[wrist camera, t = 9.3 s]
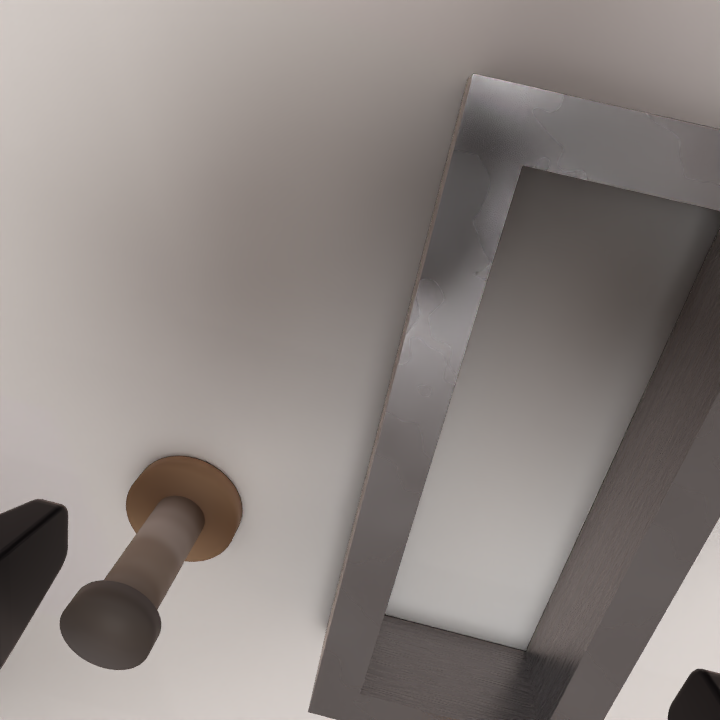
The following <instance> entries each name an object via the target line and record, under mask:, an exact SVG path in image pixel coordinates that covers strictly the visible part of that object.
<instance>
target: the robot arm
mask: <svg viewBox="0 0 720 720" xmlns="http://www.w3.org/2000/svg"><path fill="white" fill-rule="evenodd" d="M67 550H68V511H67V508H66V507H65V506H64V505H62V504H59V503H55V502H51V501H47V500H43V499H36V500H33V501H30V502H28V503H25V504H23V505H20V506H18V507H16V508H13V509H11V510H9V511H6V512H4V513H1V514H0V669H1V668H2V666H3V665H4V663H5V661H6V660H7V658H8V657H9V655H10V653H11V652H12V650H13V649H14V647H15V645H16V643H17V642H18V640H19V638H20V637H21V635H22V633H23V632H24V630H25V628H26V627H27V625H28V623H29V621H30V620H31V618H32V616H33V615H34V613H35V611H36V610H37V608H38V606H39V605H40V603H41V601H42V600H43V598H44V596H45V594H46V593H47V591H48V589H49V588H50V586H51V584H52V583H53V581H54V579H55V578H56V576H57V574H58V572H59V571H60V569H61V567H62V565H63V563H64V561H65V558H66V555H67ZM668 720H720V673H716V672H712V671H708V670H704V669H696V670H695V671H693V672H692V673H691V674H690V675H689V677H688V678H687V680H686V682H685V683H684V685H683V686H682V688H681V689H680V691H679V693H678V694H677V696H676V697H675V699H674V700H673V702H672V704H671V706H670V709H669V713H668Z"/></svg>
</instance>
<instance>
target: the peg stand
mask: <svg viewBox="0 0 720 720" xmlns="http://www.w3.org/2000/svg"><path fill="white" fill-rule="evenodd" d="M126 511H127V516H128V519H129V522H130V524H131V526H132V528H133V529H134V531H135V532H136V535H135V537H134V538H133V540H132V541H131V542H130V544H129V545H128V547H127V548H126V550H125V551H124V552H123V554H122V555H121V557H120V558H119V559H118V561H117V562H116V564H115V565H114V566H113V568H112V569H111V571H110V572H109V573H108V575H107V576H106V578H105V579H104V580H101V581H95V582H91V583H89V584H87V585H85V586H83V587H82V588H81V589H80V590H79V591H78V592H77V594H76V595H75V597H74V598H73V599H72V601H71V602H70V603H69V605H68V606H67V607H66V609H65V610H64V611H63V613H62V615H61V618H60V630H61V633H62V636H63V638H64V640H65V642H66V643H67V644H68V646H69V647H70V648H71V649H72V650H73V651H74V652H75V653H76V654H77V655H79V656H80V657H81V658H83V659H84V660H86V661H88V662H90V663H92V664H94V665H96V666H99V667H102V668H107V669H113V670H126V669H131V668H134V667H136V666H138V665H140V664H141V663H142V662H144V660H145V659H146V658H147V656H148V655H149V653H150V651H151V649H152V647H153V645H154V643H155V642H156V640H157V638H158V636H159V634H160V631H161V619H160V616H159V613H158V611H157V609H158V607H159V606H160V604H161V602H162V600H163V599H164V597H165V595H166V593H167V591H168V590H169V588H170V586H171V584H172V583H173V581H174V579H175V577H176V575H177V574H178V572H179V570H180V568H181V567H182V565H183V563H184V561H189V562H196V561H204V560H208V559H211V558H213V557H215V556H217V555H219V554H220V553H222V552H223V551H224V550H225V549H226V548H227V547H228V546H229V544H230V543H231V541H232V539H233V537H234V535H235V533H236V531H237V529H238V526H239V524H240V522H241V517H242V504H241V500H240V497H239V494H238V492H237V490H236V488H235V487H234V485H233V484H232V482H231V481H230V480H229V479H228V478H227V477H226V476H225V475H224V474H223V473H222V472H221V471H220V470H218V469H217V468H215V467H214V466H212V465H210V464H208V463H206V462H204V461H202V460H199V459H195V458H191V457H185V456H172V457H166V458H163V459H159V460H157V461H155V462H153V463H152V464H150V465H149V466H148V467H147V468H146V469H145V470H144V471H143V472H142V474H141V475H140V476H139V477H138V479H137V480H136V481H135V482H134V484H133V485H132V486H131V488H130V490H129V492H128V495H127V500H126Z"/></svg>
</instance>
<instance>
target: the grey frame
mask: <svg viewBox="0 0 720 720" xmlns="http://www.w3.org/2000/svg"><path fill="white" fill-rule="evenodd" d="M522 165H523V166H527V167H531V168H536V169H540V170H544V171H549V172H553V173H557V174H562V175H566V176H570V177H575V178H579V179H583V180H588V181H592V182H596V183H601V184H605V185H609V186H613V187H618V188H622V189H626V190H631V191H635V192H639V193H644V194H648V195H652V196H657V197H661V198H665V199H670V200H674V201H678V202H683V203H687V204H691V205H696V206H700V207H704V208H709V209H713V210H717V211H720V129H716V128H712V127H707V126H703V125H698V124H694V123H690V122H685V121H681V120H676V119H672V118H668V117H663V116H659V115H654V114H650V113H646V112H641V111H637V110H632V109H628V108H624V107H619V106H615V105H610V104H606V103H601V102H597V101H593V100H588V99H584V98H579V97H575V96H571V95H566V94H562V93H557V92H553V91H549V90H544V89H540V88H535V87H531V86H527V85H522V84H518V83H513V82H509V81H505V80H500V79H496V78H491V77H487V76H483V75H478V74H474V73H473V74H472V75H471V76H470V77H469V78H468V79H467V82H466V86H465V90H464V94H463V98H462V102H461V106H460V110H459V114H458V117H457V121H456V125H455V129H454V133H453V137H452V141H451V145H450V149H449V153H448V157H447V160H446V164H445V168H444V172H443V176H442V180H441V184H440V188H439V192H438V196H437V200H436V203H435V207H434V211H433V215H432V219H431V223H430V227H429V231H428V235H427V239H426V242H425V246H424V250H423V254H422V258H421V262H420V266H419V270H418V274H417V278H416V282H415V285H414V289H413V293H412V297H411V301H410V305H409V309H408V313H407V317H406V321H405V325H404V328H403V332H402V336H401V340H400V344H399V348H398V352H397V356H396V360H395V364H394V368H393V371H392V375H391V379H390V383H389V387H388V391H387V395H386V399H385V403H384V407H383V410H382V414H381V418H380V422H379V426H378V430H377V434H376V438H375V442H374V446H373V450H372V453H371V457H370V461H369V465H368V469H367V473H366V477H365V481H364V485H363V489H362V493H361V496H360V500H359V504H358V508H357V512H356V516H355V520H354V524H353V528H352V532H351V536H350V539H349V543H348V547H347V551H346V555H345V559H344V563H343V567H342V571H341V575H340V578H339V582H338V586H337V590H336V594H335V598H334V602H333V606H332V610H331V614H330V618H329V621H328V625H327V629H326V634H325V638H324V643H323V647H322V652H321V656H320V661H319V665H318V670H317V674H316V679H315V683H314V688H313V692H312V697H311V701H310V706H309V710H308V712H310V713H314V714H318V715H321V716H325V717H329V718H333V719H336V720H604V718H605V716H606V715H607V713H608V711H609V709H610V708H611V706H612V704H613V703H614V701H615V699H616V697H617V696H618V694H619V692H620V690H621V689H622V687H623V685H624V683H625V682H626V680H627V678H628V676H629V675H630V673H631V671H632V669H633V668H634V666H635V664H636V662H637V661H638V659H639V657H640V655H641V654H642V652H643V650H644V648H645V647H646V645H647V643H648V641H649V640H650V638H651V636H652V634H653V633H654V631H655V629H656V627H657V626H658V624H659V622H660V620H661V619H662V617H663V615H664V613H665V612H666V610H667V608H668V606H669V605H670V603H671V601H672V599H673V598H674V596H675V594H676V593H677V591H678V589H679V587H680V586H681V584H682V582H683V580H684V579H685V577H686V575H687V573H688V572H689V570H690V568H691V566H692V565H693V563H694V561H695V559H696V558H697V556H698V554H699V552H700V551H701V549H702V547H703V545H704V544H705V542H706V540H707V538H708V537H709V535H710V533H711V531H712V530H713V528H714V526H715V524H716V523H717V521H718V519H719V517H720V229H719V231H718V233H717V235H716V237H715V239H714V242H713V244H712V246H711V248H710V250H709V253H708V255H707V257H706V259H705V261H704V263H703V266H702V268H701V270H700V272H699V274H698V277H697V279H696V281H695V283H694V285H693V287H692V290H691V292H690V294H689V296H688V298H687V301H686V303H685V305H684V307H683V309H682V312H681V314H680V316H679V318H678V320H677V322H676V325H675V327H674V329H673V331H672V333H671V336H670V338H669V340H668V342H667V344H666V346H665V349H664V351H663V353H662V355H661V357H660V360H659V362H658V364H657V366H656V368H655V370H654V373H653V375H652V377H651V379H650V381H649V384H648V386H647V388H646V390H645V392H644V395H643V397H642V399H641V401H640V403H639V405H638V408H637V410H636V412H635V414H634V416H633V419H632V421H631V423H630V425H629V427H628V429H627V432H626V434H625V436H624V438H623V440H622V443H621V445H620V447H619V449H618V451H617V454H616V456H615V458H614V460H613V462H612V464H611V467H610V469H609V471H608V473H607V475H606V478H605V480H604V482H603V484H602V486H601V488H600V491H599V493H598V495H597V497H596V499H595V502H594V504H593V506H592V508H591V510H590V512H589V515H588V517H587V519H586V521H585V523H584V526H583V528H582V530H581V532H580V534H579V537H578V539H577V541H576V543H575V545H574V547H573V550H572V552H571V554H570V556H569V558H568V561H567V563H566V565H565V567H564V569H563V571H562V574H561V576H560V578H559V580H558V582H557V585H556V587H555V589H554V591H553V593H552V595H551V598H550V600H549V602H548V604H547V606H546V609H545V611H544V613H543V615H542V617H541V620H540V622H539V624H538V626H537V628H536V630H535V633H534V635H533V637H532V639H531V641H530V644H529V646H528V648H527V650H526V652H525V651H521V650H517V649H514V648H510V647H506V646H502V645H498V644H494V643H490V642H486V641H483V640H479V639H475V638H471V637H467V636H463V635H459V634H456V633H452V632H448V631H444V630H440V629H436V628H432V627H428V626H425V625H421V624H417V623H413V622H409V621H405V620H401V619H398V618H394V617H390V616H386V615H384V614H385V611H386V608H387V605H388V601H389V598H390V595H391V592H392V588H393V585H394V582H395V579H396V575H397V572H398V569H399V566H400V562H401V559H402V556H403V553H404V549H405V546H406V543H407V539H408V536H409V533H410V530H411V526H412V523H413V520H414V517H415V513H416V510H417V507H418V504H419V500H420V497H421V494H422V491H423V487H424V484H425V481H426V478H427V474H428V471H429V468H430V465H431V461H432V458H433V455H434V452H435V448H436V445H437V442H438V439H439V435H440V432H441V429H442V426H443V422H444V419H445V416H446V413H447V409H448V406H449V403H450V400H451V396H452V393H453V390H454V387H455V383H456V380H457V377H458V374H459V370H460V367H461V364H462V361H463V357H464V354H465V351H466V348H467V344H468V341H469V338H470V335H471V331H472V328H473V325H474V322H475V318H476V315H477V312H478V309H479V305H480V302H481V299H482V296H483V292H484V289H485V286H486V282H487V279H488V276H489V273H490V269H491V266H492V263H493V260H494V256H495V253H496V250H497V247H498V243H499V240H500V237H501V234H502V230H503V227H504V224H505V221H506V217H507V214H508V211H509V208H510V204H511V201H512V198H513V195H514V191H515V188H516V185H517V182H518V178H519V175H520V172H521V169H522Z"/></svg>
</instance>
